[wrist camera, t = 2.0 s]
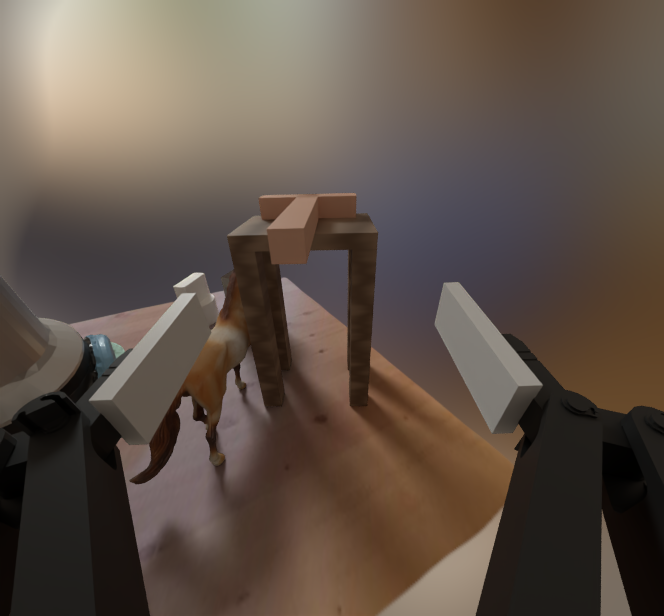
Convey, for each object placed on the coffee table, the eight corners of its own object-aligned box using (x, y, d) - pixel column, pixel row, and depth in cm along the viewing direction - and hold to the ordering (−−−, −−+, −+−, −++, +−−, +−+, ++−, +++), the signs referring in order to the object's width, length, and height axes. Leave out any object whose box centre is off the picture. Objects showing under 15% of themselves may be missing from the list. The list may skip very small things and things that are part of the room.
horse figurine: (253, 351, 60) (234, 265, 50) (285, 354, 59) (273, 267, 48) (146, 506, 34) (58, 391, 23) (201, 518, 32) (133, 403, 22)
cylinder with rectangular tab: (196, 310, 77) (184, 272, 71) (225, 312, 76) (215, 273, 70) (176, 328, 69) (160, 286, 63) (209, 330, 68) (195, 287, 62)
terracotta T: (208, 265, 23) (198, 230, 21) (266, 215, 42) (263, 195, 40) (370, 262, 23) (372, 226, 21) (354, 213, 42) (355, 193, 40)
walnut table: (264, 406, 47) (226, 235, 32) (277, 360, 57) (253, 216, 42) (367, 405, 46) (377, 232, 31) (361, 359, 57) (367, 213, 42)
